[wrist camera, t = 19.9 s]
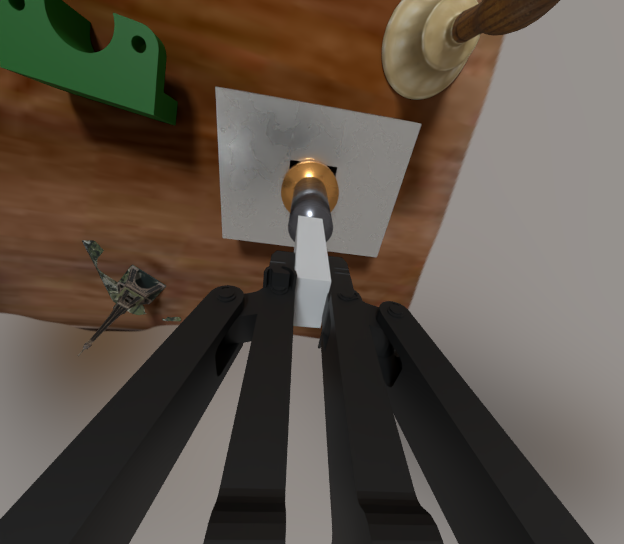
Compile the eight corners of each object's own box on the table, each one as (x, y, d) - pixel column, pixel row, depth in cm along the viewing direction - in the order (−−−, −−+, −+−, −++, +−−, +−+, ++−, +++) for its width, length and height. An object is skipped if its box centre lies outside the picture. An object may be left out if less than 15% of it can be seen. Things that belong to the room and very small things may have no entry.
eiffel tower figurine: (82, 236, 35) (-23, 301, 24) (158, 238, 35) (89, 303, 24) (123, 317, 43) (60, 392, 32) (185, 318, 44) (142, 393, 32)
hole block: (233, 220, 33) (222, 237, 29) (230, 88, 25) (215, 86, 21) (368, 238, 35) (376, 257, 31) (404, 120, 27) (421, 123, 23)
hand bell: (363, 66, 25) (428, 28, 11) (425, -48, 21) (633, -309, 7) (427, 117, 27) (541, 134, 14) (493, 23, 23) (742, -78, 10)
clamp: (180, 67, 28) (185, 42, 21) (174, 127, 30) (177, 123, 23) (21, -3, 22) (-51, -74, 14) (26, 78, 24) (-35, 51, 16)
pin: (283, 197, 31) (268, 257, 19) (288, 147, 28) (273, 182, 16) (328, 203, 32) (340, 266, 20) (338, 155, 29) (358, 195, 17)
